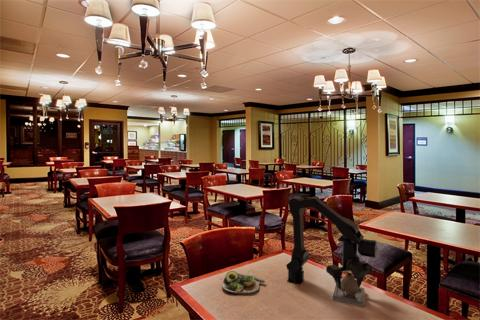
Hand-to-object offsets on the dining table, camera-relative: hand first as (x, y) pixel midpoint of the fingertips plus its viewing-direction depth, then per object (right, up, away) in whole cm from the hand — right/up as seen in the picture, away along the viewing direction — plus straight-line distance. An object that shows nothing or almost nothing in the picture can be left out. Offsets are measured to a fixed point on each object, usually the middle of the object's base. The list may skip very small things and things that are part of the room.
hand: (348, 288), depth 120 cm
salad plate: (-46, -4, +10) cm, 47 cm away
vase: (0, -3, 0) cm, 3 cm away
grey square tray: (0, -3, 0) cm, 3 cm away
